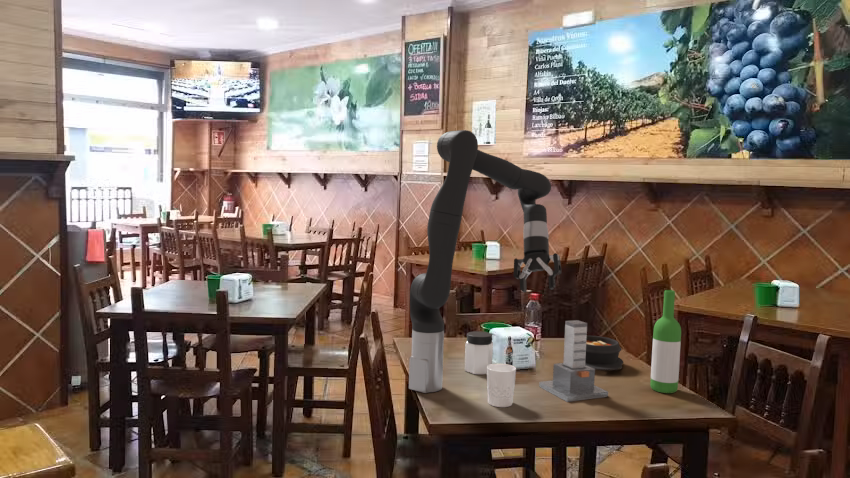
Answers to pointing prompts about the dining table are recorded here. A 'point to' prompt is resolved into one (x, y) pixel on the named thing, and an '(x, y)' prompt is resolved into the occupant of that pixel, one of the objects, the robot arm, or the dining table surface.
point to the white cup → (500, 384)
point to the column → (575, 344)
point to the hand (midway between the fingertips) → (537, 290)
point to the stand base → (573, 384)
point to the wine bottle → (666, 349)
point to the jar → (478, 352)
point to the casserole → (602, 353)
